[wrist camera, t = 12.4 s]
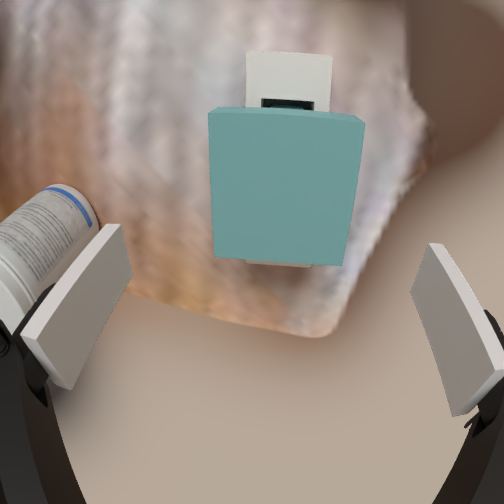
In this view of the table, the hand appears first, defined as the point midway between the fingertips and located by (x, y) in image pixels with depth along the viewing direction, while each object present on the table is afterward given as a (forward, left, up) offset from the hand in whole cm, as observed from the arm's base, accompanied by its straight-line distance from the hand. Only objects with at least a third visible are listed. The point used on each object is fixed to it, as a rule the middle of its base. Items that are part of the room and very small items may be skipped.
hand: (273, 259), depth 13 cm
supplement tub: (-24, -7, -16) cm, 29 cm away
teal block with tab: (0, 0, -15) cm, 15 cm away
